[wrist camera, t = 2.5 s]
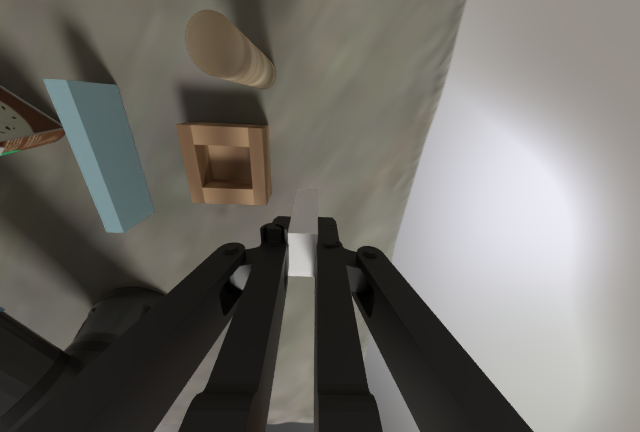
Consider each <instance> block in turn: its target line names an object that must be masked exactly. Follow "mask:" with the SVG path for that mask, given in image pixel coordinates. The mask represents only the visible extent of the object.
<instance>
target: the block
mask: <svg viewBox="0 0 640 432" xmlns="http://www.w3.org/2000/svg"><path fill="white" fill-rule="evenodd" d="M176 127H177V131H178V136H179V141H180V145H181V150H182V155H183V160H184V164H185V169H186V174H187V179H188V183H189V188H190V193H191V197H192V202H193V203H216V204H245V205H267V203H268V200H269V198H270V196H271V194H272V192H271V171H270V150H269V129H268V125H252V124H232V123H211V122H188V123H182V124H176Z"/></svg>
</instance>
